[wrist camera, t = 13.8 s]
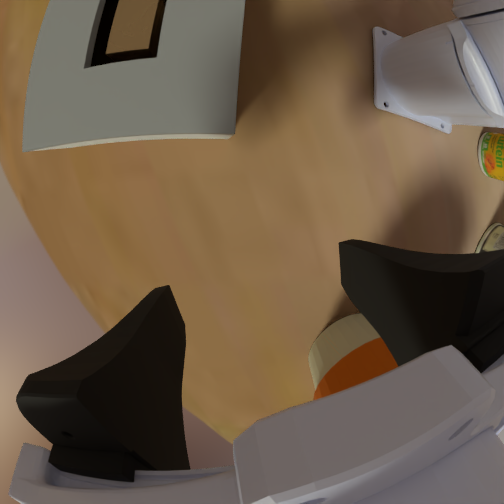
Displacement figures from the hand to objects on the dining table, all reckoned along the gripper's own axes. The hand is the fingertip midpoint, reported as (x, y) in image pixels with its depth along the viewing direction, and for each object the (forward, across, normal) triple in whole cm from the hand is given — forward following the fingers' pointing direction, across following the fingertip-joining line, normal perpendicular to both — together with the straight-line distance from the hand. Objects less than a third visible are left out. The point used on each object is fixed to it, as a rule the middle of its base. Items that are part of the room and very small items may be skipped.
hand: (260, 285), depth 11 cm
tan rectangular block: (+10, +3, -14) cm, 18 cm away
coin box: (+9, +3, -14) cm, 18 cm away
